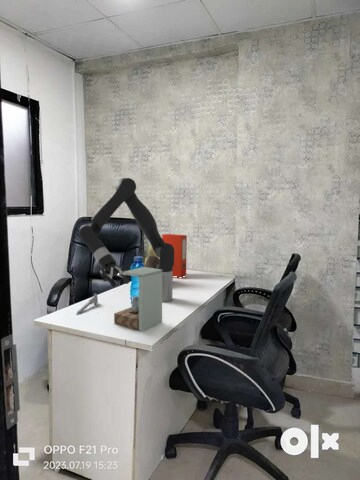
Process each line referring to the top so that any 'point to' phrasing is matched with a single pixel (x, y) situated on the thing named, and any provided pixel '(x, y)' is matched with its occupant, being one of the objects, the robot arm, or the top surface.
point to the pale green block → (149, 296)
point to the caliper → (91, 301)
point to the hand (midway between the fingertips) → (121, 284)
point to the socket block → (127, 319)
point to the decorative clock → (152, 259)
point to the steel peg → (135, 305)
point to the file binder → (178, 252)
